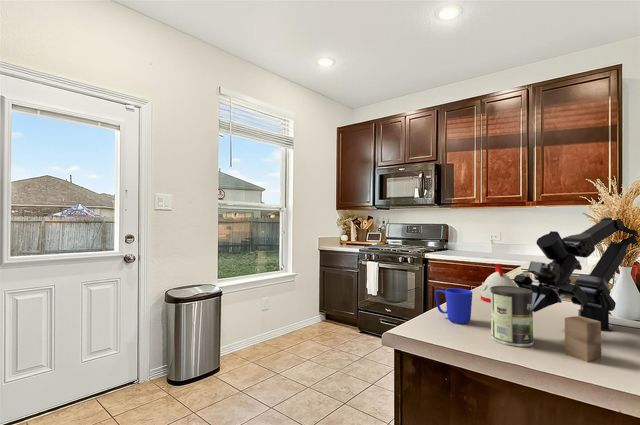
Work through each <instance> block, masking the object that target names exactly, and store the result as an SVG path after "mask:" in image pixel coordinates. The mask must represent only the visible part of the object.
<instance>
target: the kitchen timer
mask: <svg viewBox="0 0 640 425" xmlns="http://www.w3.org/2000/svg"><path fill="white" fill-rule="evenodd" d="M494 269H495V270H494V271H495V272H493V273H492V274H490V275H489V276H487V278H486V279H485V281H482V282H481V289H480V300H481V301H483V302H486V303H489V304H491V290H490V287H493V286H514V287H518V286H517V285H516V283H515V282H514V281H513V279H511V278H510V276H508V275H507V274H506V273H504V270H503V267H502V265H501V264H499V263H495V266H494Z"/></svg>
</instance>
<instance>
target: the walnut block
mask: <svg viewBox="0 0 640 425" xmlns="http://www.w3.org/2000/svg"><path fill="white" fill-rule="evenodd" d="M564 351H565V353H564V354H565V355H567V356H570V357H573V358H575V359H577V360H581V361H583V362H586V363H591V362H595V361H599V360H602V330H601V322H600V321H597V320H593V319H589V318H585V317H581V316H578V315H575V316H568V317H564Z"/></svg>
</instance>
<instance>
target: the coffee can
mask: <svg viewBox="0 0 640 425" xmlns="http://www.w3.org/2000/svg"><path fill="white" fill-rule="evenodd" d="M490 290H491V303H490V315H491V316H490V328H491V333H490V334H491V335H490V337H491V339H492V340H493V341H495V342H496V343H497V342H498V343H499V344H503V345H507V346H509V347H511V346H512V347H518V348H519V347H521V348H522V347H525V348H526V347H531V346H533V345H534V319H533V318H534V317H533V316H534V312H533V306H532V295H533V291H532V290H529V289H526V288H521V287H518V286H517V287H514V286H493V287H490Z"/></svg>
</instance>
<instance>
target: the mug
mask: <svg viewBox="0 0 640 425" xmlns="http://www.w3.org/2000/svg"><path fill="white" fill-rule="evenodd" d="M439 293H443V294H444V296H445V304H446V311H445V310H443V309H442V307H441V306H440V300H439ZM434 295H435V303H436V308H437V310H438V311H439V313H441V314H447V318H448V320H449V321H450V322H452V323H455V324H461V325H463V324H468V323H470V321H471V319H472V306H473V291H472V290H470V289H464V288H455V287H453V288H451V287H450V288H446V289H445V290H442V289H436V290H435V293H434Z"/></svg>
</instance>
